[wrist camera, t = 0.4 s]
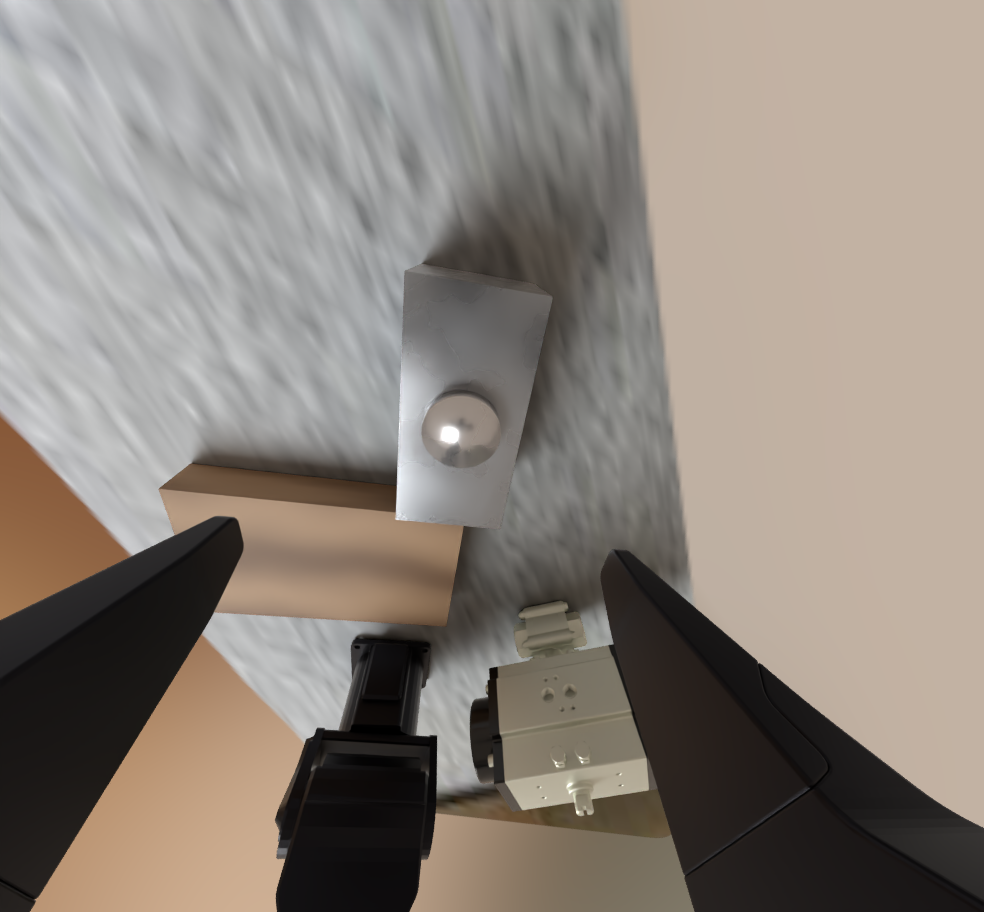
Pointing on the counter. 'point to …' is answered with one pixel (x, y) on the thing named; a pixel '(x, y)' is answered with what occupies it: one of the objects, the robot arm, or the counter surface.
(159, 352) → the counter surface
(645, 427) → the counter surface
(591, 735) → the pneumatic valve
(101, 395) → the counter surface
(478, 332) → the housing
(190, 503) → the walnut stand
